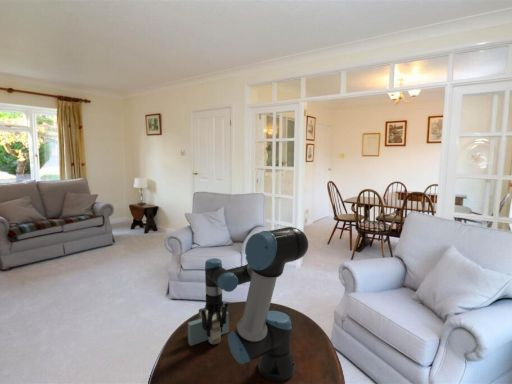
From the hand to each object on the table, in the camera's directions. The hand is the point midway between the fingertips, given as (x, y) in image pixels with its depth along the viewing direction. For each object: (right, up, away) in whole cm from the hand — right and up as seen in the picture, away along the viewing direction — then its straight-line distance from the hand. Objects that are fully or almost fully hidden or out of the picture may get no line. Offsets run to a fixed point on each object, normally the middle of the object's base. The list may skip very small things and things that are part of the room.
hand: (214, 340), depth 140 cm
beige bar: (-3, 0, +5) cm, 6 cm away
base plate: (-3, -1, +5) cm, 6 cm away
